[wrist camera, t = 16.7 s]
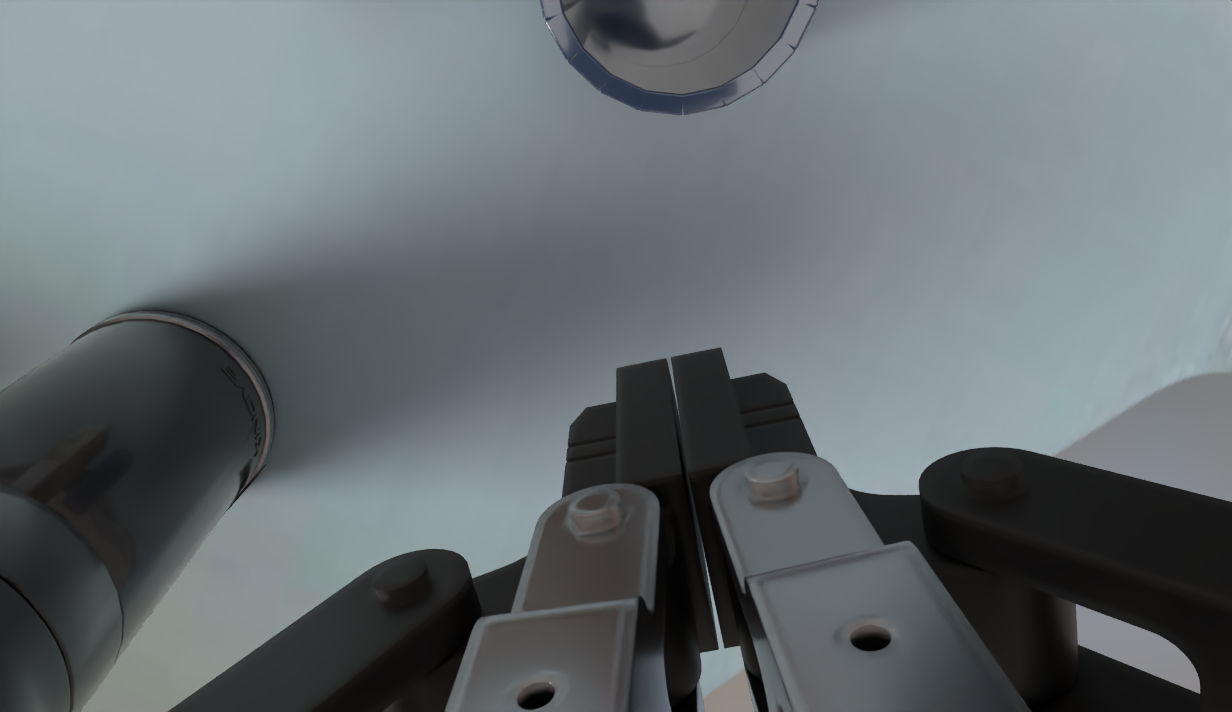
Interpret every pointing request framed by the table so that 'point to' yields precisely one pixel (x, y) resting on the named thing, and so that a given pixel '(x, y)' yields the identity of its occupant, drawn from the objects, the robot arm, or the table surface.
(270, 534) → the table surface
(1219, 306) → the table surface
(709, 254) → the table surface
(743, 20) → the pen cup
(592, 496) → the robot arm
